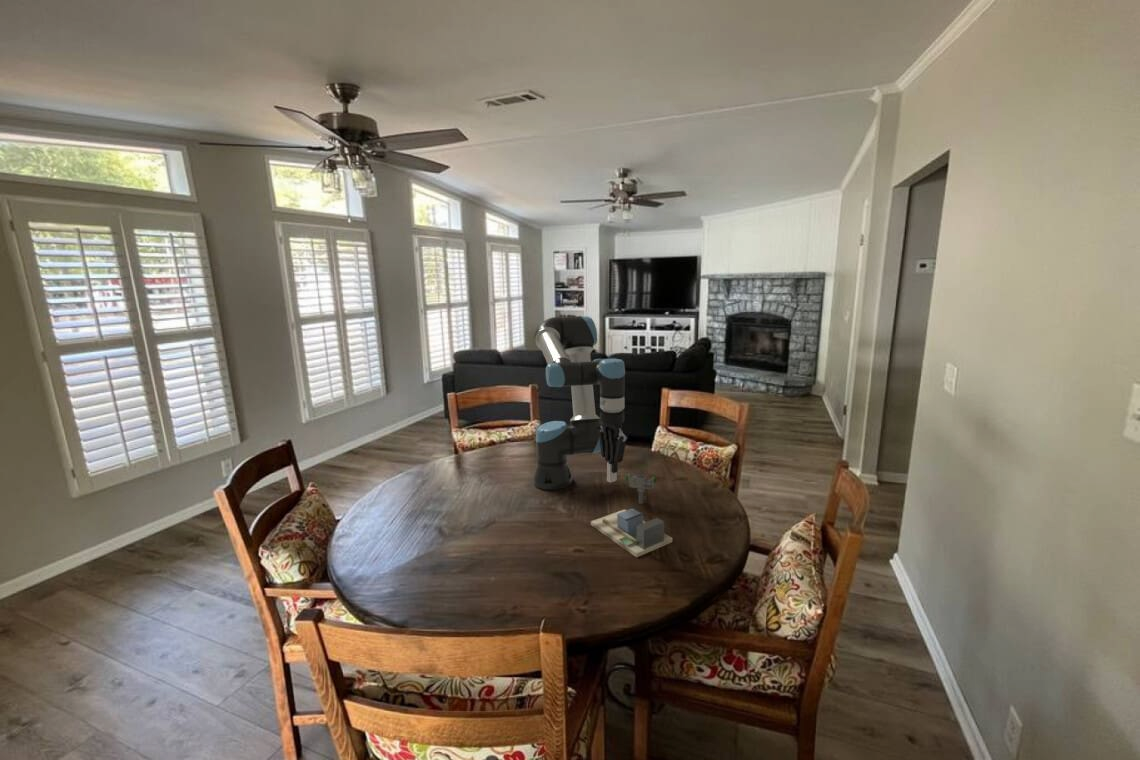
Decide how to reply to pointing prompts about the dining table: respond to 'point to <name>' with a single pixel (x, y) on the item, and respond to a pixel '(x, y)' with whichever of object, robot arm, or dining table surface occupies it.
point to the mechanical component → (640, 484)
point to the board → (624, 535)
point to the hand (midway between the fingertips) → (611, 480)
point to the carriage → (629, 520)
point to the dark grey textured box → (650, 533)
